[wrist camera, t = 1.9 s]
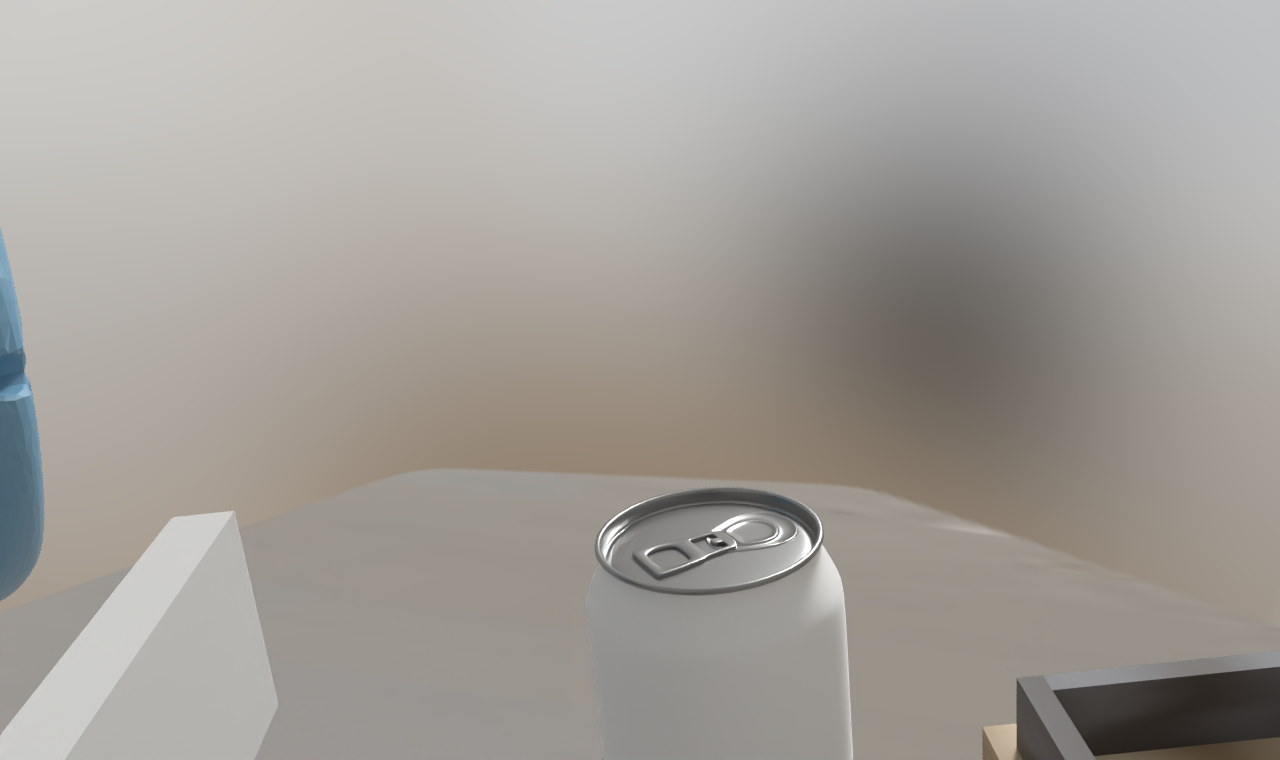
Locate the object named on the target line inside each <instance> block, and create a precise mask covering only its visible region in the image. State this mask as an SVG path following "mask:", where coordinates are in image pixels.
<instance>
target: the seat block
mask: <svg viewBox="0 0 1280 760" xmlns="http://www.w3.org/2000/svg"><path fill="white" fill-rule="evenodd" d="M983 760H1280V651H1274V652H1264V653H1254V654H1245V655H1235V656H1225V657H1216V658H1206V659H1196V660H1187V661H1177V662H1167V663H1158V664H1148V665H1139V666H1129V667H1119V668H1110V669H1100V670H1090V671H1081V672H1071V673H1061V674H1052V675H1042V676H1032V677H1023V678H1017V724H1007V725H998V726H988V727H983Z"/></svg>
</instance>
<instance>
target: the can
mask: <svg viewBox="0 0 1280 760" xmlns="http://www.w3.org/2000/svg"><path fill="white" fill-rule="evenodd" d="M823 538H824V530H823V525H822V523H821V521H820V519H819V517H818V516H817V515H816V514H815V513H814V512H813V511H812V510H811V509H810V508H809V507H807V506H806V505H804V504H803V503H801V502H799V501H797V500H795V499H793V498H790V497H788V496H785V495H782V494H779V493H775V492H771V491H766V490H761V489H754V488H744V487H705V488H695V489H688V490H681V491H676V492H671V493H667V494H663V495H659V496H656V497H653V498H650V499H647V500H644V501H642V502H639V503H637V504H635V505H632V506H630V507H628V508H627V509H625V510H623V511H621V512H620V513H618V514H617V515H615V516H614V517H613V518H611V519H610V520H609V521H608V522H607V523H606V524H605V525H604V526H603V527H602V529H601V530H600V531H599V533H598V535H597V538H596V541H595V554H596V558H597V560H598V565H597V567H596V570H595V572H594V575H593V577H592V580H591V583H590V586H589V589H588V593H587V598H586V618H587V629H588V639H589V647H590V656H591V665H592V673H593V681H594V689H595V698H596V706H597V714H598V722H599V730H600V738H601V746H602V754H603V760H853V749H852V729H851V709H850V689H849V670H848V651H847V634H846V616H845V604H844V593H843V587H842V581H841V578H840V575H839V573H838V571H837V568H836V567H835V565H834V563H833V561H832V559H831V558H830V556H829V555H828V553H827V551H826V550H825V548H824V546H823V545H822V542H823Z"/></svg>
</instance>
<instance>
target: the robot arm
mask: <svg viewBox="0 0 1280 760" xmlns="http://www.w3.org/2000/svg"><path fill="white" fill-rule="evenodd" d="M25 365H26V357H25V352H24V348H23V338H22V323H21V317H20V312H19V306H18V301H17V297H16V292H15V287H14V282H13V278H12V273H11V270H10V264H9V260H8V256H7V252H6V248H5V244H4V241H3V236H2V233H1V229H0V601H1V600H3V599H5V598H7V597H8V596H9V595H11V594H12V593H13V592H15V590H17V589H18V588H19V587H20V586H21V585H22V584H23V582H24V581H25V580H26V579H27V577H28V576H29V575H30V572H31V571H32V569H33V568H34V566H35V564H36V562H37V559H38V557H39V554H40V550H41V546H42V540H43V531H44V489H43V474H42V462H41V452H40V443H39V433H38V425H37V419H36V412H35V406H34V399H33V393H32V389H31V386H30V383H29V380H28V377H27V376H26V374H25V372H24V369H25ZM277 707H278V701H277V696H276V692H275V687H274V683H273V679H272V674H271V670H270V665H269V661H268V657H267V652H266V648H265V643H264V639H263V635H262V630H261V626H260V621H259V617H258V613H257V608H256V604H255V599H254V595H253V590H252V586H251V582H250V577H249V573H248V568H247V564H246V560H245V555H244V551H243V546H242V542H241V538H240V533H239V529H238V524H237V520H236V516H235V511H228V512H219V513H210V514H201V515H191V516H182V517H172V518H171V520H170V521H169V522H168V523H167V525H166V526H165V527H164V529H163V530H162V531H161V532H160V534H159V535H158V536H157V537H156V539H155V540H154V541H153V543H152V544H151V545H150V546H149V547H148V549H147V550H146V551H145V553H144V554H143V555H142V556H141V558H140V559H139V560H138V561H137V563H136V564H135V565H134V566H133V568H132V569H131V570H130V571H129V573H128V574H127V575H126V577H125V578H124V579H123V580H122V582H121V583H120V584H119V585H118V587H117V588H116V589H115V590H114V592H113V593H112V594H111V596H110V597H109V598H108V599H107V601H106V602H105V603H104V604H103V606H102V607H101V608H100V609H99V611H98V612H97V613H96V615H95V616H94V617H93V618H92V620H91V621H90V622H89V623H88V625H87V626H86V627H85V628H84V630H83V631H82V632H81V634H80V635H79V636H78V637H77V639H76V640H75V641H74V642H73V644H72V645H71V646H70V647H69V649H68V650H67V651H66V652H65V654H64V655H63V656H62V658H61V659H60V660H59V661H58V663H57V664H56V665H55V666H54V668H53V669H52V670H51V671H50V673H49V674H48V675H47V677H46V678H45V679H44V680H43V682H42V683H41V684H40V685H39V687H38V688H37V689H36V690H35V692H34V693H33V694H32V696H31V697H30V698H29V699H28V701H27V702H26V703H25V704H24V706H23V707H22V708H21V709H20V711H19V712H18V713H17V715H16V716H15V717H14V718H13V720H12V721H11V722H10V723H9V725H8V726H7V727H6V728H5V730H4V731H3V732H2V734H1V735H0V760H254V759H255V757H256V755H257V752H258V750H259V748H260V746H261V743H262V741H263V739H264V736H265V734H266V732H267V730H268V727H269V725H270V723H271V721H272V718H273V716H274V714H275V711H276V709H277Z"/></svg>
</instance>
